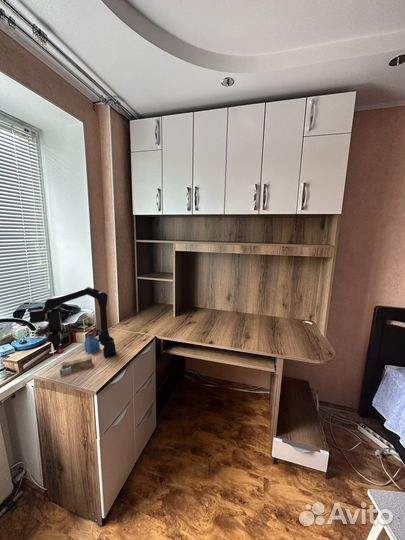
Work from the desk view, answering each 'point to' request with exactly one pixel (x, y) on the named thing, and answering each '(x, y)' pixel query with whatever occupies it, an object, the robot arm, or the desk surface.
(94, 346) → the perfume bottle
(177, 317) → the desk surface
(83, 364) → the rail
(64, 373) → the bracket
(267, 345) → the desk surface
